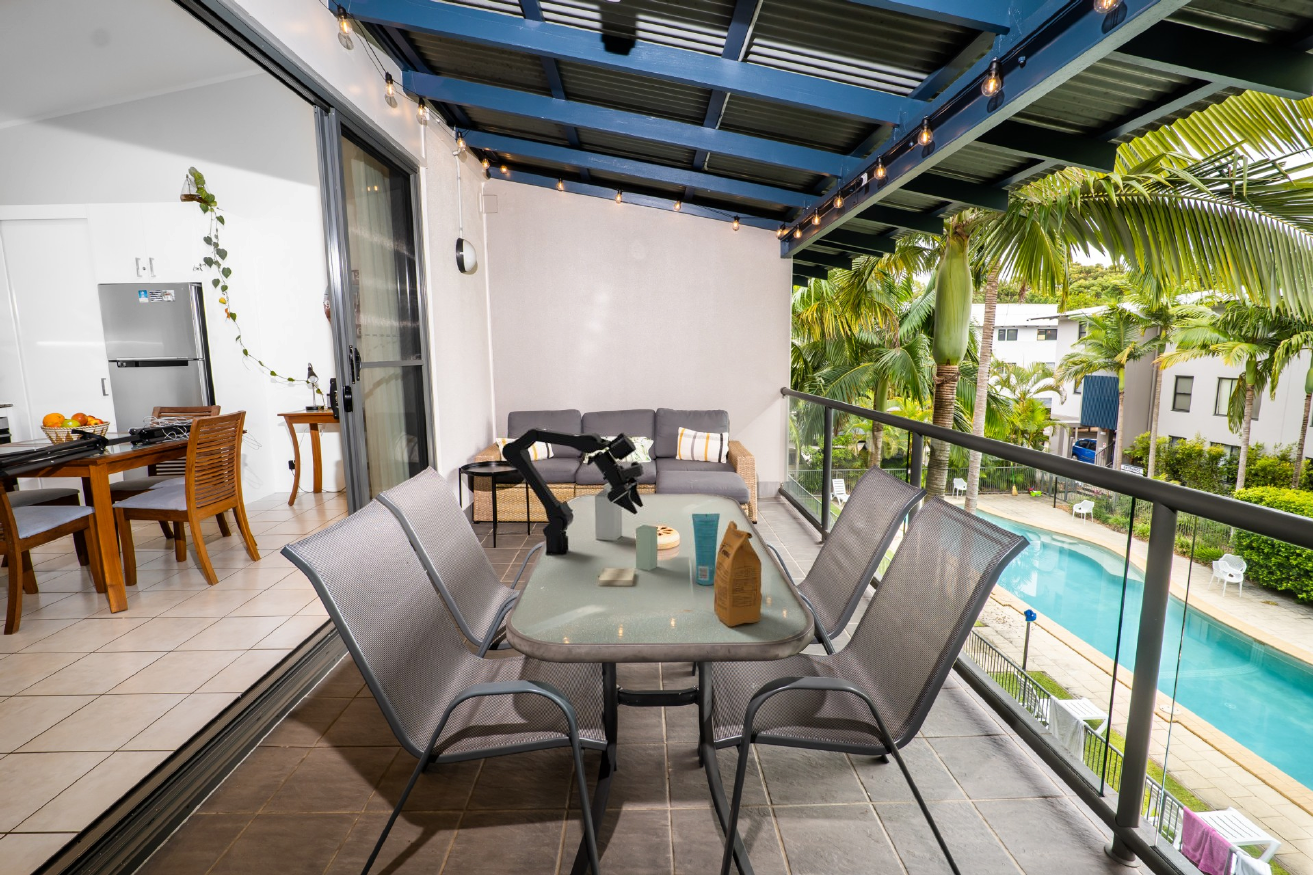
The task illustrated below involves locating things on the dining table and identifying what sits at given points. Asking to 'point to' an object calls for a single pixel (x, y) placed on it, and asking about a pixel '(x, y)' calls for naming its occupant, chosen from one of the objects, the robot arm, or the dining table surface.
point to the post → (646, 547)
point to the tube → (705, 546)
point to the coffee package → (737, 579)
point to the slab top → (616, 577)
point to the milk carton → (607, 516)
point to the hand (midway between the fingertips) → (639, 509)
